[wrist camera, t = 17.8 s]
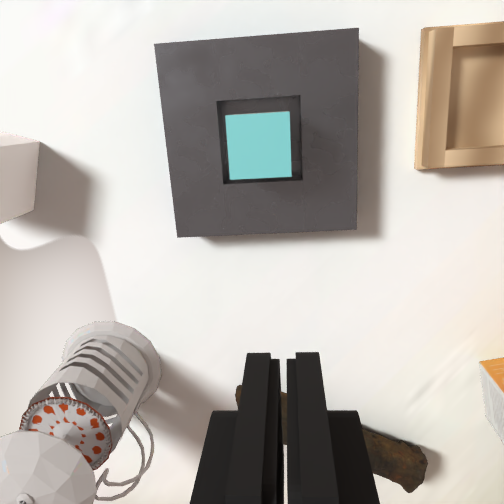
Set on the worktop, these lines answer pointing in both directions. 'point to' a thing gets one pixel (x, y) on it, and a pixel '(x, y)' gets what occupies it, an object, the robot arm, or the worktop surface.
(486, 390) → the small box
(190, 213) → the port panel
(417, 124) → the wooden square tray
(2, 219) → the white cube
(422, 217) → the worktop surface
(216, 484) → the robot arm
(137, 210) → the worktop surface
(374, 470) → the hand tool
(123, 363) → the french press
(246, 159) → the plug
